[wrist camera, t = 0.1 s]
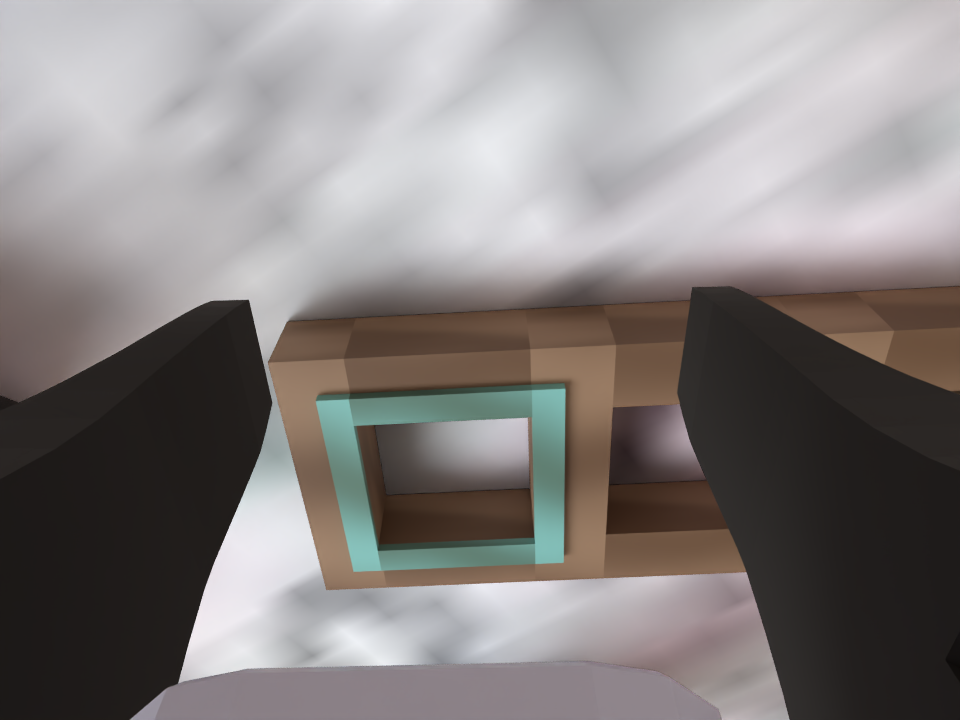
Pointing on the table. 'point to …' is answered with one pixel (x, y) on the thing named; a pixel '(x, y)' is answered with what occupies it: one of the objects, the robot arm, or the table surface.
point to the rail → (537, 432)
